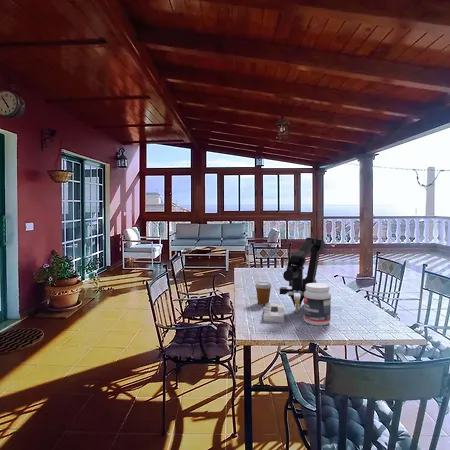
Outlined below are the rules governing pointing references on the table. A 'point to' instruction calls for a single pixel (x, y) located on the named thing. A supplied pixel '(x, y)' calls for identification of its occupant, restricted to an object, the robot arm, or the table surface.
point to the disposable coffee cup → (263, 292)
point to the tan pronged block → (297, 303)
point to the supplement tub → (317, 304)
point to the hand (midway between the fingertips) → (297, 306)
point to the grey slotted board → (274, 312)
